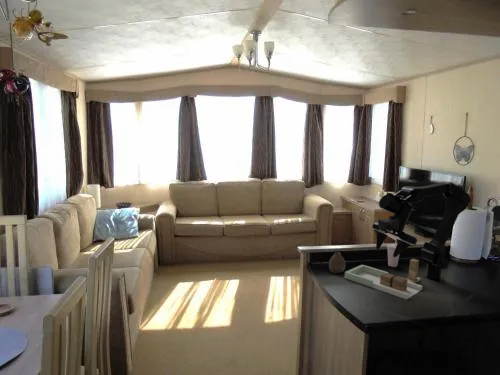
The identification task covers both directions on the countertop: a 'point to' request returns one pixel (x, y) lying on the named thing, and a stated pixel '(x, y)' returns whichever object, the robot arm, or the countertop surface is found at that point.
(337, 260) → the vase
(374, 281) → the slot tray
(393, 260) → the smoothie
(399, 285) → the block
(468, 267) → the countertop surface
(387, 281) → the block
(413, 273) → the scraper
